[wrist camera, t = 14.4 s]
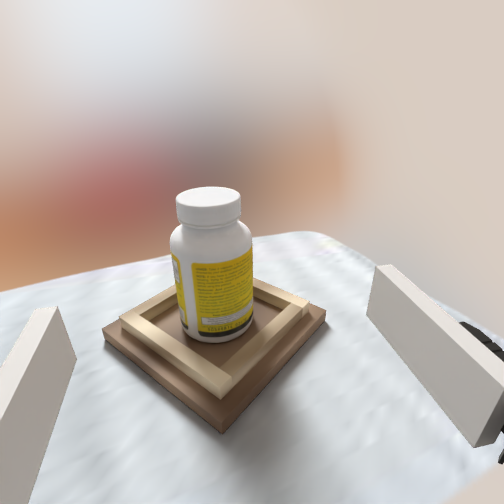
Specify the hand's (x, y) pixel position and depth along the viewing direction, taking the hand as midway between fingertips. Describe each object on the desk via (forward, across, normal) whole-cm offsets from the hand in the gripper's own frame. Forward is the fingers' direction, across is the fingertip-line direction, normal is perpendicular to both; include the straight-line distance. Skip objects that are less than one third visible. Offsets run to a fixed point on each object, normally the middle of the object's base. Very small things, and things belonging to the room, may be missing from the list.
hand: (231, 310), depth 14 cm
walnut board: (+9, 0, -9) cm, 12 cm away
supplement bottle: (+8, 0, -8) cm, 12 cm away
